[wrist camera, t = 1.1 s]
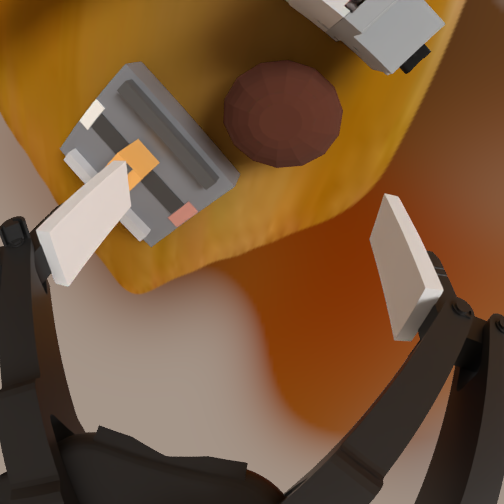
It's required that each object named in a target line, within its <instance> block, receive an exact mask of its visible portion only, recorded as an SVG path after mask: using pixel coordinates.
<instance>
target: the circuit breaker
mask: <svg viewBox="0 0 504 504" xmlns="http://www.w3.org/2000/svg"><path fill="white" fill-rule="evenodd" d="M285 1H287V2H288V3H289V5H290V6H291V7H293V8H294V9H295V10H297V11H298V12H299V13H301V14H302V15H304V16H305V17H306V18H308V19H309V20H310V21H311V22H313V23H314V24H315V25H317V26H318V27H319V28H320V29H322V30H323V31H324V32H325V33H327V34H328V35H329V36H330V37H331V38H333V39H334V40H335V41H336V42H337V41H340V40H341V41H342V42H343V43H344V44H346V45H347V46H348V47H349V48H350V49H351V50H352V51H353V52H355V53H356V54H357V55H358V56H359V57H360V58H361V59H362V60H363V61H364V62H365V63H366V64H367V65H368V66H369V67H370V68H372V69H373V70H378V71H382V72H384V73H385V74H386V75H389V74H393V73H394V72H395V71H396V70H397V69H398V68H399V67H400V68H401V69H402V71H403V72H404V73H406V74H407V73H409V72H410V71H411V70H412V69H413V68H414V67H415V66H416V65H417V64H418V63H419V62H420V61H421V60H422V59H423V58H425V57H426V56H427V55H428V54H429V53H430V52H431V51H430V50H429V49H428V48H427V46H426V45H425V44H424V43H425V42H427V41H428V40H429V39H430V38H431V37H432V36H433V35H434V34H435V33H436V32H437V31H438V30H440V29H441V28H442V27H443V26H444V25H445V23H444V22H443V21H442V20H441V18H440V17H439V16H438V15H437V14H436V13H435V12H434V11H433V10H432V9H431V7H430V6H429V5H428V4H427V3H426V2H425V1H424V0H285Z"/></svg>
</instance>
